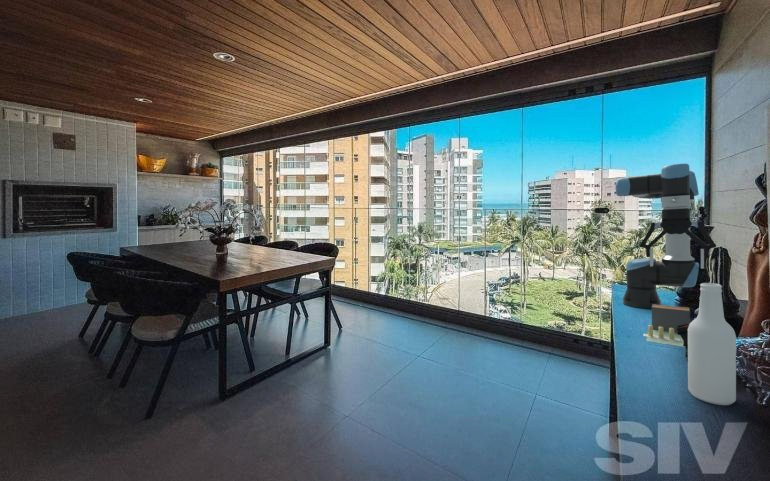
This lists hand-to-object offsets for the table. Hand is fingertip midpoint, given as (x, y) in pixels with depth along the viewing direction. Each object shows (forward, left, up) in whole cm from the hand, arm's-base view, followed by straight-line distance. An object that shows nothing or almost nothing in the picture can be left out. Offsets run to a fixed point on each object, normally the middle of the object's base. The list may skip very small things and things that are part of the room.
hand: (676, 266), depth 116 cm
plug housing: (-9, -2, -27) cm, 28 cm away
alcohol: (+40, +7, -28) cm, 49 cm away
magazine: (+17, +7, -28) cm, 33 cm away
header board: (-2, -2, -28) cm, 28 cm away
